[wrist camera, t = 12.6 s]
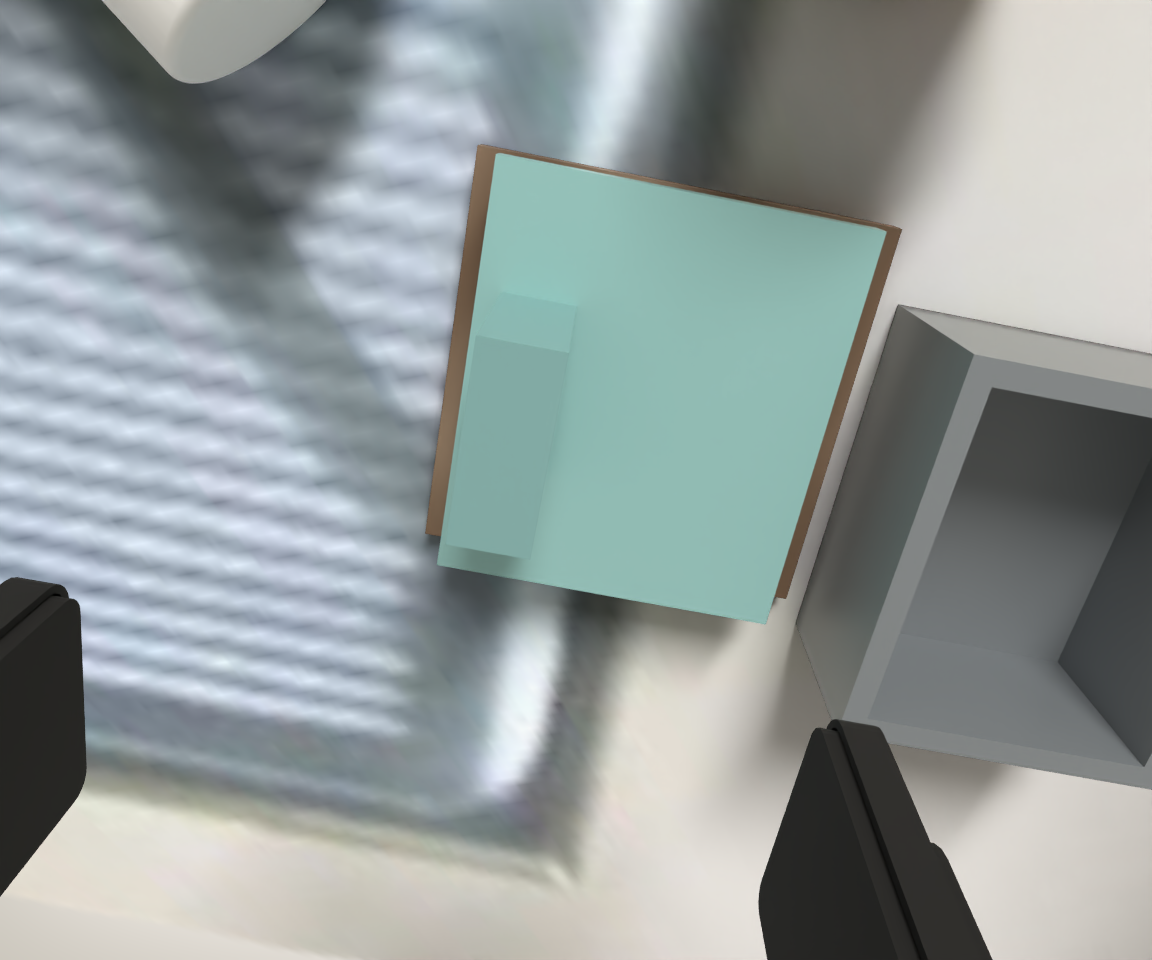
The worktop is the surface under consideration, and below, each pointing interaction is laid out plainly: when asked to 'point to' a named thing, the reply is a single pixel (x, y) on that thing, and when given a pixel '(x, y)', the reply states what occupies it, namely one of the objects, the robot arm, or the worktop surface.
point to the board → (487, 160)
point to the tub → (994, 552)
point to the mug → (210, 31)
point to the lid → (647, 386)
